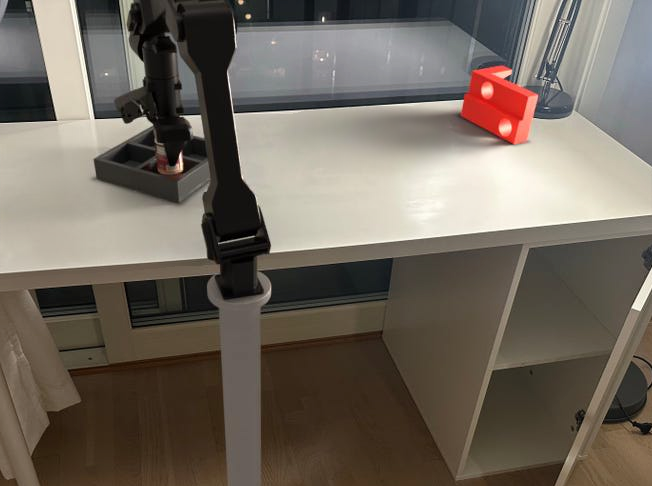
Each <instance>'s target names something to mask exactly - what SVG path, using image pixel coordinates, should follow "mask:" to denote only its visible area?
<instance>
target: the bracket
mask: <svg viewBox="0 0 652 486" xmlns="http://www.w3.org/2000/svg"><path fill="white" fill-rule="evenodd" d="M512 71H513V69H511V68H509V67H506V66H504V65H497V66H493V67H492V66H491V67H486V68H481V69H475V70H472V71H471V77H470V81H469V87H468V92H467V93H465V94H464V95H463V96H464V97H463V102H462V106H461V111H460V116H461V117H462V118H464V119H466V120H468V121H469V122H472V123H473V124H475V125H478V126H479V127H481V128H482V129H484V130H487V131H488V132H490V133H492V134H493V135H496V136H497V137H499V138H501V139H503V140H505V141H507V142H508V143H511V144H512V145H517V144H520V143H526V142H527V141H528V138H529V133H530V130H531V126H532V122H533V117H534V114H535V109H536V106H537V101H538V98H539V94H537V93H535V92H533V91H530V90H529V89H527V88H524V87H522V86H520V85H518V84H515V83H513V82H511V81H508V79H507V80H506V79H505V78H506V77H508V76H510V75H512Z"/></svg>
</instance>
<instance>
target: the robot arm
mask: <svg viewBox="0 0 652 486" xmlns="http://www.w3.org/2000/svg"><path fill="white" fill-rule="evenodd" d="M126 28H127V29H126V30H127V32H128V33H129V36H128V44H129V48H130V49H131V51H133V53H134V54H135V55H136V56H137V58H139V61H141V62H142V63H143V67H144V68H143V69H144V76H143V79H142V86H141V87H139V88H136V89H132V90H130V91H128V92H126V93H124V94H122V95H120V96H117V97H116V98H114V99H113V103H114V106H115V108H116V110H117V112H118V114H119V115H120V116H119V117H120V118H121V120H122V122H123V124H126V125H129V124H132V123H133V121H135V120H137V119H139V118H141V117H143V116H145V117H146V120H147V121H148V122H149V123H150V124H152V126H153V130H154V132H153V134H154V137H155V138H156V141H157V143H161V144H162V143H163V146H164V149H165V153H166V156H167V160H168V163H169V166H170V167H172V166H176V163H177V161H178V158H179V156H180V153H181V151H182V148H183V146H184V144H185V141H191V140H193V135H194V130H193V127H192V125H191V123H190V121H189V120H188V119H186V117H184V116H181V115H180V114H185V111H184V106H183V104H182V98H181V97H182V96H181V91H182V90H183V85H182V81H181V80H180V73H179V60H178V59H179V58H178V53H179V57H180V58H181V59H182V60H183V62H184V63H185V64H186V66H187V67H188V68H189V70H190V71H191V73H192V74H193V75H194V79H195V80H194V81H195V87H196V95H197V100H198V106H199V112H200V119H201V125H202V132H203V138H204V139H205V145H206V152H207V158H208V165H209V171H210V178H211V180H210V181H209V185H208V187H207V190H206V191H203V192H202V193H203V194H202V196H201V200H202V205H203V213H202V217H201V218H202V219H201V223H200V227H201V231H202V235H203V240H204V244H205V249H206V259H207V260H208V261H209V260H210V261H212V262H215V264H216V265H217V266H218V265H219V272H220V274H217V273H216V274H217V275H215V274H214V275H215V281H216V283H217V285H218V288H219V290H220V293H221V295H222V297H223V299H224V300H228V299H234V298H241V297H247V296H253V295H260V294H263V293H264V289H263V287H262V285H261V283H260V281H259V279H258V277H257V271H258V256H263V255H270V254H271V250H272V243H271V239H270V236H269V233H268V229H267V225H266V222H265V218H264V215H263V212H262V209H261V207H260V205H259V203H258V198H257V195H256V193H255V192H254V190H253V189H251V186H249V184H248V183H247V181H246V180H245V179H244V177H243V171H242V163H241V156H240V148H239V143H238V140H239V139H238V134H237V127H236V126H237V125H236V120H235V114H234V113H235V112H234V106H233V99H232V90H231V84H230V77H229V69H230V67H231V64H232V61H233V59H234V56H235V53H236V51H237V34H238V19H237V15H236V12H235V9H234V8H233V6H232V4H231V2H230V1H229V0H132V2H131V3H130V7H129V10H128V14H127V19H126ZM167 33H170V34H171V36H170V35H166V34H167ZM171 37H172V38H173V40H172V38H171Z"/></svg>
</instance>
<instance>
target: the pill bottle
mask: <svg viewBox="0 0 652 486" xmlns="http://www.w3.org/2000/svg"><path fill="white" fill-rule="evenodd" d="M155 148H156V157H157V166H158V171H159V172H160V173H161V174H164V175H177V174H179V173H181V172H182V171H183V160H182V151H181V153H180V156H179V158H178V161H177V163H176V166H172V167H170V166H169V163H168V160H167V156H166V153H165V149H164V146H163V143H162V144H161V143H157V141H156V138H155Z"/></svg>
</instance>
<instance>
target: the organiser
mask: <svg viewBox="0 0 652 486" xmlns="http://www.w3.org/2000/svg"><path fill="white" fill-rule="evenodd" d="M153 132H154V130H153V125H151V126H149V127H148V128H146V129H143V130H142V131H140V132H139V133H136V134H135V135H133V136H131V137H130V138H128V139H126V140H124V141H122V142H120V143H119V144H117V145H116V146H114V147H112V148H110V149H108V150H107V151H104V152H103V153H100V155H97V156H96V157H94V158H93V159H92V160H93V165H94V170H95V177H96V179H97V180H99V181H103V182H106V183H110V184H113V185H116V186H120V187H122V188H126V189H129V190H133V191H136V192H140V193H144V194H147V195H150V196H153V197H157V198H161V199H164V200H167V201H171V202H174V203H178V204H180V203H181V202H182V201H184V200H185V199H187V198H188V197H190V196H191V195H192V194H194V193H195V192H197V191H198V190H199V189H201V188H202V187H203V186H205V185H207V183H210V182H211V178H210V171H209V165H208V158H207V152H206V145H205V139H204V137H201V136H197V135H194V134H193V140H191V141H185V144H184V146H183V148H182V160H183V171H182V172H181V173H179V174H177V175H164V174H161V173H160V172H159V171H158V166H157V157H156V148H155V137H154V134H153Z"/></svg>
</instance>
